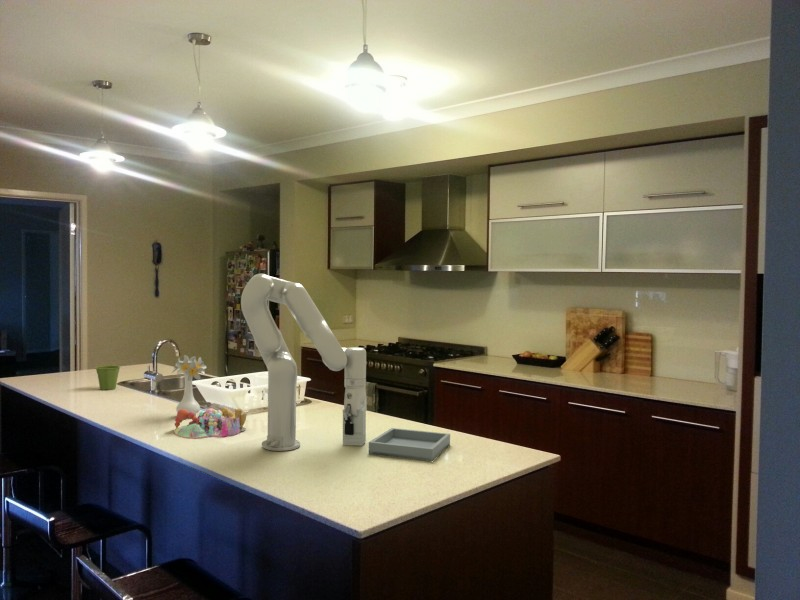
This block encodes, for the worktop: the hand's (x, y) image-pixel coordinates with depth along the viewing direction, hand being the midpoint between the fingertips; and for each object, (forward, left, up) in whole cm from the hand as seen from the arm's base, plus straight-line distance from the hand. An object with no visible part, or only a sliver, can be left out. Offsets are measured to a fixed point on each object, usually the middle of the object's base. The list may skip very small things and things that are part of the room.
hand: (354, 431), depth 221 cm
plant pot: (+48, +157, -4) cm, 164 cm away
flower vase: (+12, +79, -4) cm, 80 cm away
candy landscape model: (-5, +56, -5) cm, 57 cm away
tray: (0, -21, -4) cm, 21 cm away
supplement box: (0, 0, -4) cm, 4 cm away
